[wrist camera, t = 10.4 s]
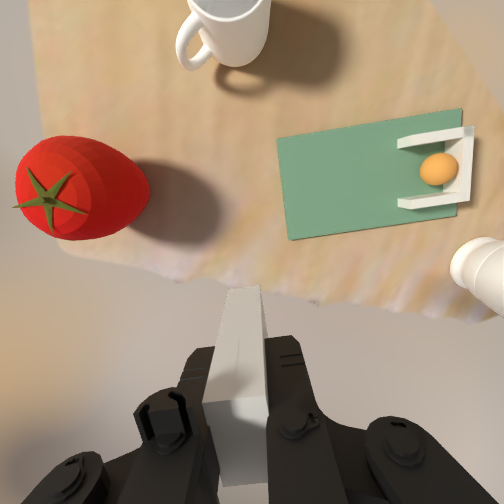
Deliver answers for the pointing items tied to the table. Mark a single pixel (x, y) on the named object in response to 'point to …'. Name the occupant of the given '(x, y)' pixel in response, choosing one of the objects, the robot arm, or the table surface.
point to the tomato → (79, 188)
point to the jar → (481, 271)
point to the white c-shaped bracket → (460, 184)
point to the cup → (224, 31)
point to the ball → (438, 169)
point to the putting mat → (359, 175)
